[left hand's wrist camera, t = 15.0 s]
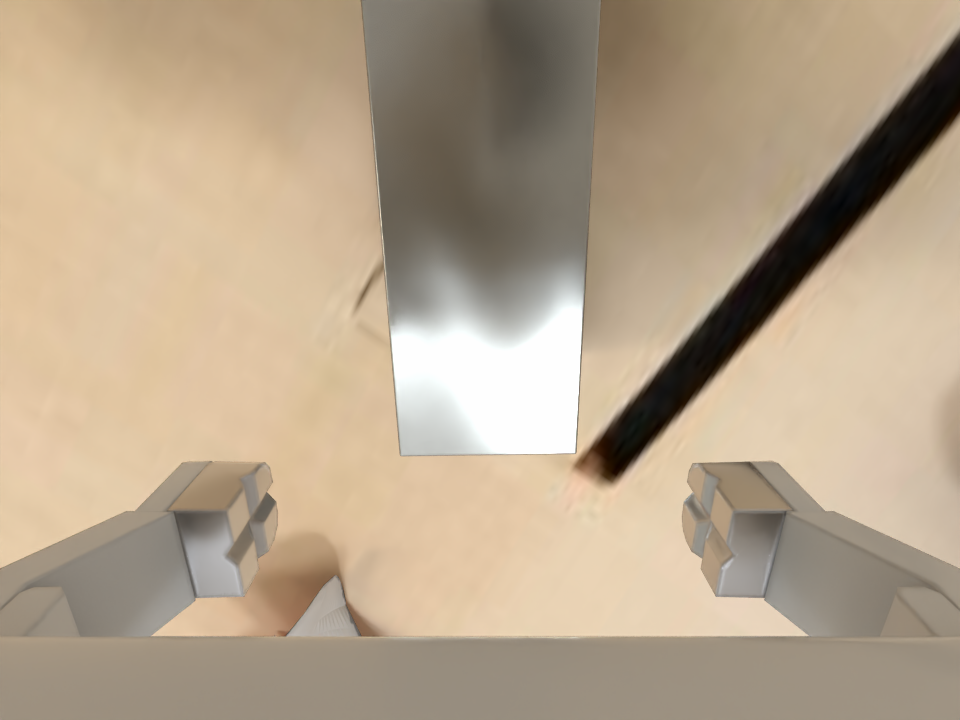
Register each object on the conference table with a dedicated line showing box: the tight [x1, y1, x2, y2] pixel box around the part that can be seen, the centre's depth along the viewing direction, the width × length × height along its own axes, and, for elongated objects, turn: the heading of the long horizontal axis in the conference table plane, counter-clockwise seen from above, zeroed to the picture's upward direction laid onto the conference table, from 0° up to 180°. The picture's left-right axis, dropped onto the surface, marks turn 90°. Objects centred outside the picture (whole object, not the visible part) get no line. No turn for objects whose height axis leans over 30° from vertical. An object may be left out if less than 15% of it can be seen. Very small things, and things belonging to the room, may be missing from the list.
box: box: [361, 0, 601, 456], centre depth 17 cm, size 22×6×8 cm, turn 1°
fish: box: [274, 575, 362, 637], centre depth 28 cm, size 11×16×10 cm
